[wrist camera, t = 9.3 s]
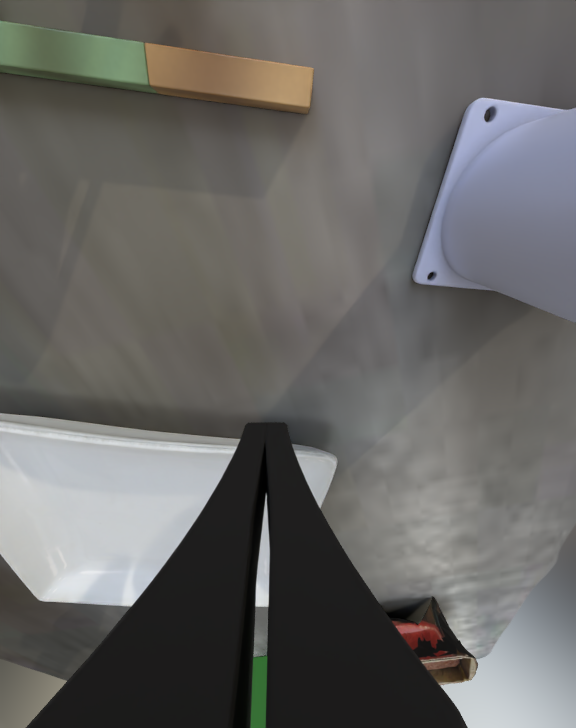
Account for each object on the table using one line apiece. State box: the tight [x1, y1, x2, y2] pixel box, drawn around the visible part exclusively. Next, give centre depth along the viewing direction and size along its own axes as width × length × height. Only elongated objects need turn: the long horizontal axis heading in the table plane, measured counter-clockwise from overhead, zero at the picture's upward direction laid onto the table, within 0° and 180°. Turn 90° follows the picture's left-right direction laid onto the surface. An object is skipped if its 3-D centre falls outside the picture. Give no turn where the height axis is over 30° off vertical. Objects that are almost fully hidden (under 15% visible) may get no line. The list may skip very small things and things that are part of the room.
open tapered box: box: [390, 597, 478, 685], centre depth 42 cm, size 14×18×10 cm
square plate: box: [0, 413, 338, 607], centre depth 25 cm, size 27×27×4 cm
